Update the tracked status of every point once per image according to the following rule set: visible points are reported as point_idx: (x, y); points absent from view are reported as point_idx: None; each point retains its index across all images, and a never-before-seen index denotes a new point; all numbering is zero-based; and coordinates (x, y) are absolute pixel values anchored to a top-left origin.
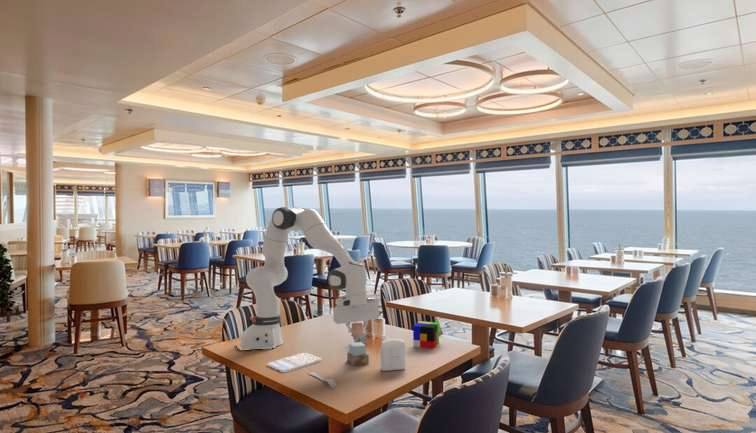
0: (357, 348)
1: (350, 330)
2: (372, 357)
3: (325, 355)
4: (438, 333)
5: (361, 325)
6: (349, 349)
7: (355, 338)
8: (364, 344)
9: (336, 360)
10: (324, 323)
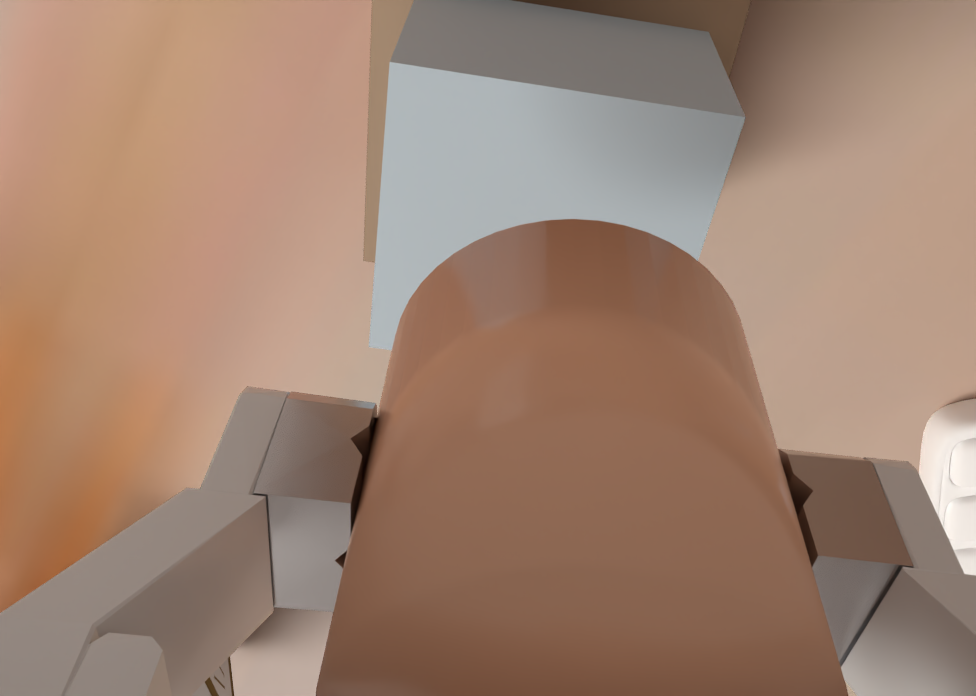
0: (636, 77)
1: (909, 513)
2: (202, 141)
3: None
4: None
5: (453, 529)
6: None
7: (217, 686)
8: (393, 134)
9: (760, 329)
10: None
